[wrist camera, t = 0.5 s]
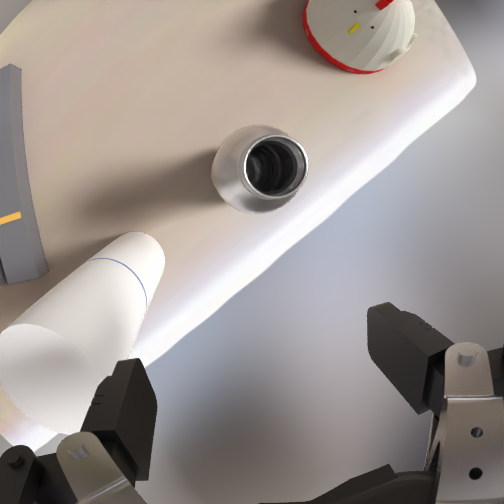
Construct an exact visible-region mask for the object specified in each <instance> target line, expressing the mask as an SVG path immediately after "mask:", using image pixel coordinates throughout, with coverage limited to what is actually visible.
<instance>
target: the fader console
mask: <svg viewBox="0 0 504 504" xmlns="http://www.w3.org/2000/svg"><path fill="white" fill-rule="evenodd" d="M48 271H49V270H48V266H47V263H46V259H45V255H44V251H43V247H42V243H41V239H40V235H39V231H38V226H37V222H36V217H35V212H34V207H33V202H32V196H31V190H30V184H29V178H28V171H27V163H26V155H25V146H24V135H23V121H22V99H21V69H20V68H18V67H16V66H14V65H13V64H9V65H7V66H5V67H3V68H1V69H0V285H2V284H4V283H5V282H8V285H9V284H13V283H18V282H22V281H27V280H32V279H36V278H39V277H41V276H42V275H44V274H45V273H47V272H48Z"/></svg>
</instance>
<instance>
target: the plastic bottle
mask: <svg viewBox="0 0 504 504" xmlns="http://www.w3.org/2000/svg"><path fill="white" fill-rule="evenodd" d="M307 174H308V158H307V155H306V153H305V151H304V149H303V148H302V146H301V145H300V144H299V143H298V142H297V141H295V140H294V139H292V138H291V137H290V136H289V135H288V134H287V133H285V132H283V131H282V130H280V129H278V128H275V127H272V126H267V125H252V126H248V127H244V128H242V129H239V130H237V131H236V132H234V133H233V134H231V135H230V136H229V137H228V138H227V139H226V140H225V141H224V142H223V143H222V144H221V146H220V147H219V149H218V151H217V153H216V156H215V158H214V161H213V163H212V167H211V178H212V182H213V184H214V186H215V188H216V189H217V191H218V193H219V194H220V196H221V197H222V198H223V199H224V201H225V202H227V203H228V204H229V205H230V206H231V207H233V208H235V209H237V210H239V211H242V212H245V213H249V214H266V213H270V212H273V211H276V210H278V209H280V208H282V207H283V206H284V205H286V204H287V203H289V202H290V201H291V199H292V198H293V197H294V196H295V195H296V193H297V192H298V190H299V189H300V187H301V186H302V185H303V183H304V182H305V180H306V177H307Z"/></svg>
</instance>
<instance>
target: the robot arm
mask: <svg viewBox="0 0 504 504" xmlns="http://www.w3.org/2000/svg"><path fill="white" fill-rule="evenodd" d="M367 336H368V351H369V354H370V357H371V359H372V360H373V361H374V363H375V364H376V365H377V366H378V368H379V369H380V370H381V371H382V372H383V373H384V375H385V376H386V377H387V378H388V379H389V381H390V382H391V383H392V384H393V385H394V386H395V387H396V389H397V390H398V391H399V392H400V394H401V395H402V396H403V397H404V398H405V400H406V401H407V402H408V403H409V404H410V406H411V407H412V408H413V409H414V410H415V412H416V413H417V414H418V415H419V414H421V413H424V412H426V411H428V410H430V409H431V410H432V411H433V416H432V421H431V429H430V437H429V443H428V450H427V456H426V461H425V466H424V470H423V471H406V472H398V473H394V471H393V469H392V468H391V466H390V465H389V464H387V465H385V466H383V467H380V468H378V469H375V470H373V471H370V472H368V473H365V474H363V475H360V476H357V477H354V478H351V479H349V480H348V481H346V482H344V483H342V484H341V485H339V486H337V487H336V488H334V489H332V490H330V491H328V492H327V493H325V494H323V495H321V496H319V497H317V498H315V499H313V500H311V501H306V502H289V503H259V504H504V345H503V348H498V349H495V350H490V351H486V350H485V349H484V348H483V347H481V346H480V345H477V344H474V343H470V342H462V343H457V344H454V343H453V342H452V341H450V340H449V339H448V338H446V337H445V336H444V335H443V334H441V333H440V332H438V331H437V330H436V329H435V328H432V326H431V325H429V324H428V323H425V321H424V320H423V319H421V318H420V317H418V316H417V315H415V314H412V313H409V312H406V311H400V310H399V309H398V308H396V307H395V306H394V305H393V304H391V303H390V302H386V303H383V304H379V305H376V306H373V307H370V308H369V309H368V312H367ZM156 415H157V400H156V396H155V393H154V391H153V388H152V386H151V383H150V381H149V379H148V376H147V374H146V371H145V369H144V366H143V364H142V362H141V360H140V359H139V358H134V359H127V360H120V361H117V363H116V366H115V368H114V371H113V373H112V376H107V377H106V378H105V379H104V380H103V381H102V382H101V383H100V384H99V385H98V387H97V389H96V392H95V394H94V397H93V399H92V401H91V405H90V406H89V409H88V411H87V414H86V416H85V419H84V422H83V424H82V427H81V429H80V432H77V433H73V434H71V435H69V436H67V437H66V438H65V439H64V440H62V441H61V443H60V444H59V446H58V448H57V451H56V453H53V454H48V455H43V456H38V457H37V456H36V455H35V454H34V452H33V451H32V450H31V449H30V448H29V447H27V446H25V445H17V446H14V447H11V448H10V449H8V450H6V451H5V452H4V453H3V454H2V456H1V457H0V504H147V503H146V502H145V501H144V500H143V498H142V497H141V496H140V495H139V494H138V493H137V491H136V490H135V481H142V480H143V481H145V480H148V478H149V469H150V460H151V452H152V444H153V436H154V429H155V422H156Z"/></svg>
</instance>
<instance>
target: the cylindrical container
mask: <svg viewBox="0 0 504 504" xmlns="http://www.w3.org/2000/svg"><path fill="white" fill-rule="evenodd" d="M164 266H165V258H164V254H163V251H162V249H161V247H160V245H159V244H158V243H157V241H156V240H155V239H153V238H152V237H151V236H149V235H147V234H145V233H141V232H128V233H125V234H123V235H121V236H120V237H118V238H117V239H115V240H114V241H113V242H111V243H110V244H109V245H107V246H106V247H105V248H103V249H102V250H100V251H99V252H98V253H97V254H95V255H94V256H93V257H91V258H90V259H89V260H87V261H86V262H85V263H83V264H82V265H81V266H80V267H78V268H77V269H76V270H74V271H73V272H72V273H71V274H69V275H68V276H67V277H66V278H64V279H63V280H62V281H61V282H59V283H58V284H57V285H56V286H54V287H53V288H52V289H51V290H50V291H48V292H47V293H46V294H45V295H44V296H42V297H41V298H40V299H39V300H38V301H36V302H35V303H34V304H33V305H32V306H31V307H29V308H28V309H27V310H26V311H25V312H24V313H22V314H21V315H20V316H19V317H18V318H17V319H16V320H15V321H13V322H12V323H11V324H10V325H9V326H8V327H7V328H6V329H5V330H3V331H2V332H1V334H0V383H1V385H2V387H3V389H4V391H5V392H6V394H7V395H8V397H9V398H10V399H11V400H12V402H13V403H14V404H15V405H16V406H17V407H18V408H19V409H20V410H21V411H22V412H23V413H24V414H25V415H27V416H28V417H29V418H31V419H32V420H33V421H35V422H36V423H38V424H40V425H42V426H44V427H46V428H48V429H50V430H53V431H55V432H58V433H63V434H68V435H71V434H73V433H77V432H80V429H81V427H82V424H83V422H84V419H85V416H86V414H87V411H88V409H89V406H90V405H91V401H92V399H93V397H94V394H95V392H96V389H97V387H98V385H99V384H100V383H101V382H102V381H103V380H104V379H105V378H106V377H107V376H112V373H113V371H114V368H115V366H116V363H117V361H120V360H127V359H128V358H129V356H130V353H131V350H132V348H133V345H134V342H135V340H136V337H137V334H138V332H139V329H140V327H141V324H142V322H143V319H144V317H145V314H146V312H147V309H148V307H149V304H150V302H151V299H152V297H153V295H154V292H155V290H156V287H157V285H158V283H159V280H160V278H161V276H162V273H163V271H164Z"/></svg>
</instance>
